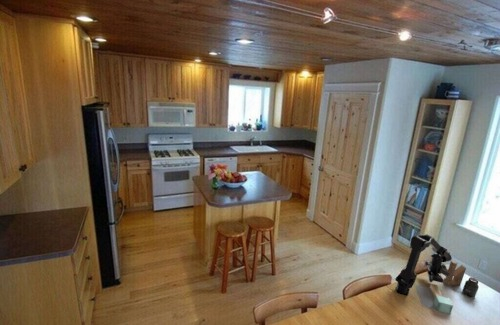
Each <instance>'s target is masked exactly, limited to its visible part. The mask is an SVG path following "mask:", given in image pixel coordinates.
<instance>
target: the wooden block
mask: <svg viewBox="0 0 500 325" xmlns="http://www.w3.org/2000/svg"><path fill="white" fill-rule="evenodd" d="M449 262H450V263H449V265H448V268H447V269H448V271H449V272H450V274H449V275H448V276H445V277H444V278H443V283H442V284H444V285H446V286H461V285H462V281H463V278H464V276H465V274H466V270H467V267H466V266H464V265H463V264H461V265H460V266H458V262H457V261H456V260H451V261H449ZM457 266H458V267H457Z"/></svg>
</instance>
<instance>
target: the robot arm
mask: <svg viewBox="0 0 500 325" xmlns="http://www.w3.org/2000/svg"><path fill="white" fill-rule="evenodd" d="M409 245H410V247H411V250H410V254H409V257H408V259H407V262H406V266H405V268H404V269H402V270H401V271H400V273H398V275H397V276H396V277H395V278H394V279H395V281H396V282H397V283H396V286H395V292H396V293H397V294H398V295H402V296H405V297H408V296H409V293H410V291H411V290H410V289H413V287H414V284H416V279H417V276H418V275H417V274H416V273H415V270H416V268H417V265H418V262H419V259H420V255H421V253H422V252H424V251H425V250H426V248H429V247H431V249H432V252H434V253H433V254H431V255H430V257H431V260H430V261H424V266H425V267H428V268H427V269H426V271H427V278H428V281H429V283H432V282H437V283H442V284H444V283H443V280H444V278H443V277H442V276H441V275H443V276H445V277H446V276H448V275H449V274H450V272H449V271H448V269H449V268H447V266H446V265H445V264H443V263H446V262H451V261H452V260H453V258H452V255H451V254H450V253H451V252H450V251H449V250H448V249H447V248H445V247H444V246H442V245H440V243H439V242H437V240H436V239H435V238H434V237H433V236H431V235H430V234H428V233H427V234H417V235H416V234H415V235H413V236H412V237H411V238H410V244H409Z"/></svg>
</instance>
